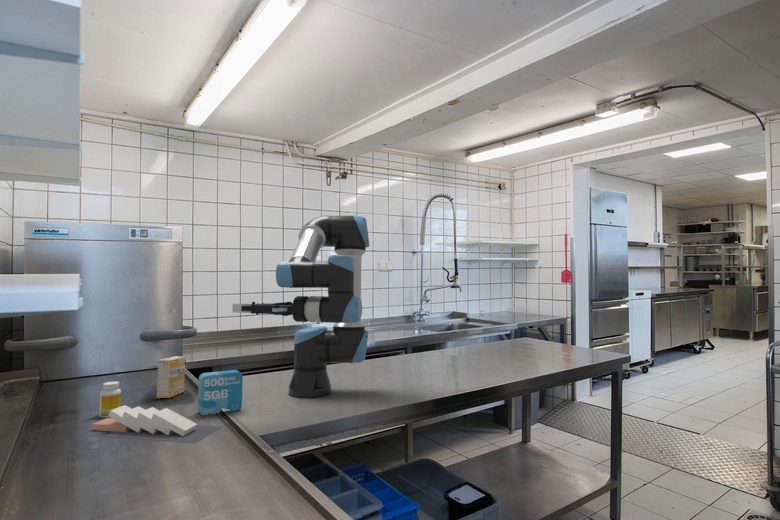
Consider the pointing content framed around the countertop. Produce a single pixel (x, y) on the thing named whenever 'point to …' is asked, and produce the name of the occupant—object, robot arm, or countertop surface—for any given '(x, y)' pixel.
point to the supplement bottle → (109, 398)
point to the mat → (191, 437)
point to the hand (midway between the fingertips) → (233, 307)
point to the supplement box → (170, 376)
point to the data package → (219, 391)
